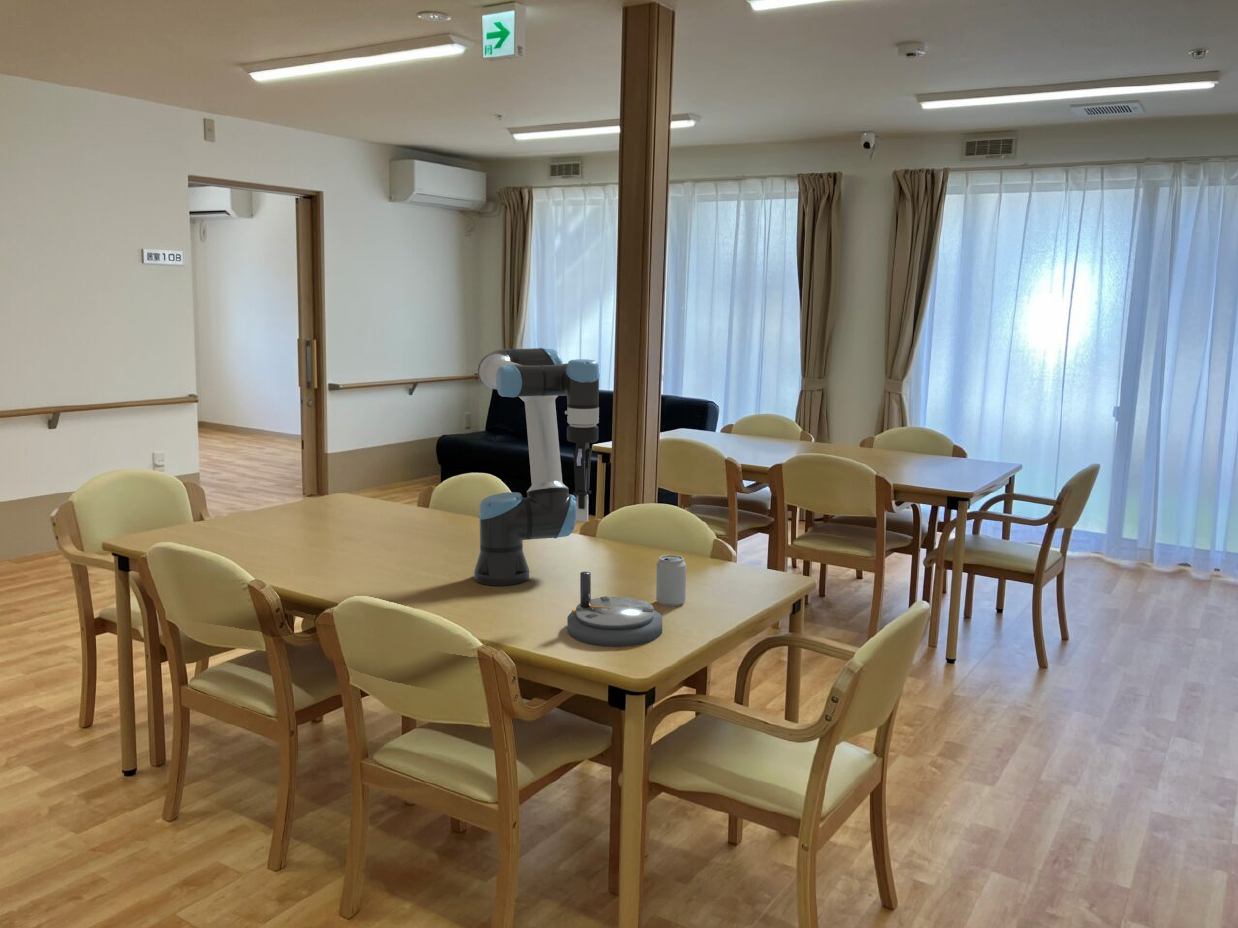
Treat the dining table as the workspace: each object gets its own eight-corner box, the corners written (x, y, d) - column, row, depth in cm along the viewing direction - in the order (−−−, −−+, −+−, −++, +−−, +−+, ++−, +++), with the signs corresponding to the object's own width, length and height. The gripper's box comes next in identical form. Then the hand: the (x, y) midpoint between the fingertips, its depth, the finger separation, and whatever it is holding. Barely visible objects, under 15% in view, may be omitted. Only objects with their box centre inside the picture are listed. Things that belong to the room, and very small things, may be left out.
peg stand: (664, 624, 218) (665, 582, 217) (588, 632, 213) (588, 588, 211) (638, 601, 235) (639, 562, 234) (567, 608, 230) (567, 567, 228)
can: (654, 598, 249) (654, 553, 247) (683, 598, 250) (683, 553, 248) (658, 607, 242) (658, 561, 240) (687, 607, 242) (688, 560, 240)
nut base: (572, 648, 212) (572, 633, 212) (563, 617, 234) (563, 602, 233) (670, 644, 215) (670, 628, 215) (653, 613, 237) (653, 599, 236)
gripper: (571, 420, 238) (571, 513, 242) (562, 428, 225) (562, 526, 229) (601, 421, 237) (601, 515, 241) (594, 429, 224) (593, 528, 228)
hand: (582, 520), depth 235 cm, fingers closed
